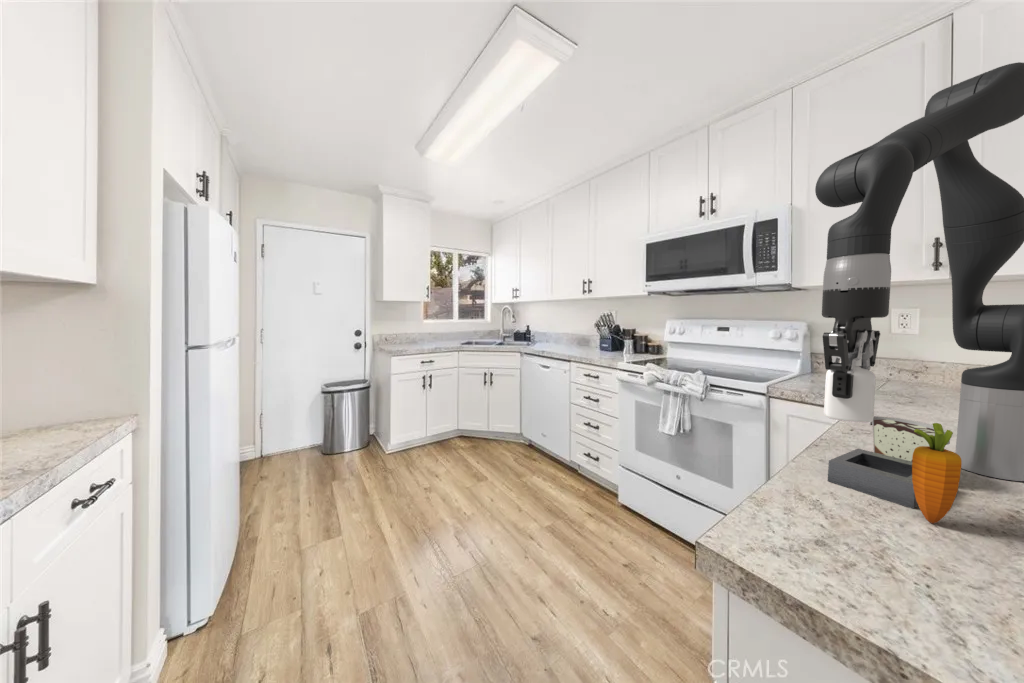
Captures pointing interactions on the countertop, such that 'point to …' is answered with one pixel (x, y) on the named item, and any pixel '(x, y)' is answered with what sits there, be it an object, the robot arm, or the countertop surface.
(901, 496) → the grey square frame
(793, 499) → the countertop surface
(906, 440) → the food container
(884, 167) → the robot arm
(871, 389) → the eye dropper bottle
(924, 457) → the carrot
